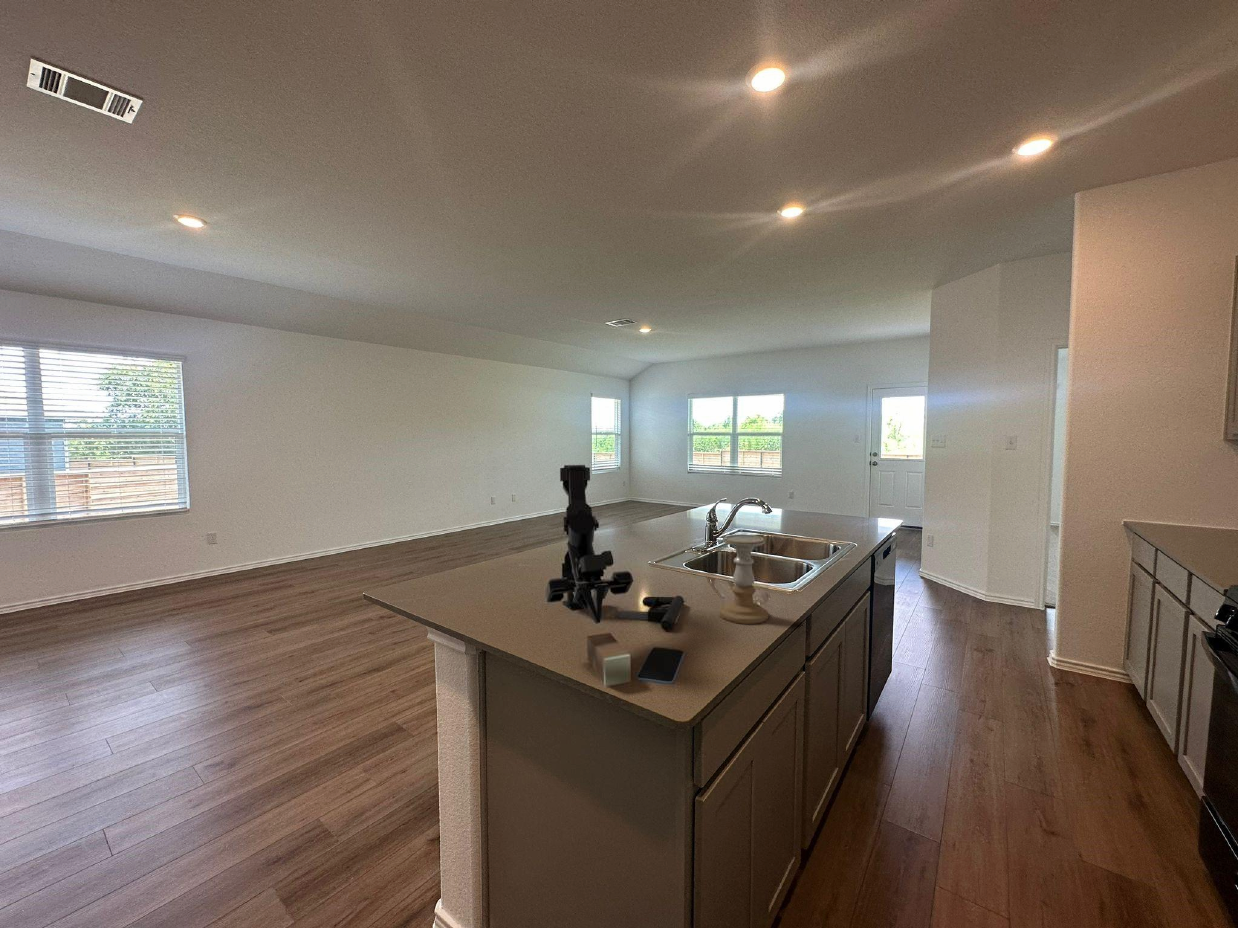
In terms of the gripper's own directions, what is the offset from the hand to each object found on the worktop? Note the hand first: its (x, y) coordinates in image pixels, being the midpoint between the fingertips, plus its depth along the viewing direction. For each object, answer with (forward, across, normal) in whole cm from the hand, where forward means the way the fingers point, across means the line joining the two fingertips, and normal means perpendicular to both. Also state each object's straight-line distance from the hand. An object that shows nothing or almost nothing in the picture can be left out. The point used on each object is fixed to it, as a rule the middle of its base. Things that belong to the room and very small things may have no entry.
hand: (598, 622), depth 105 cm
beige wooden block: (+4, 0, +4) cm, 5 cm away
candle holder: (-2, +42, +13) cm, 44 cm away
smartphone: (+11, +11, 0) cm, 16 cm away
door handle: (-8, +21, +19) cm, 29 cm away
